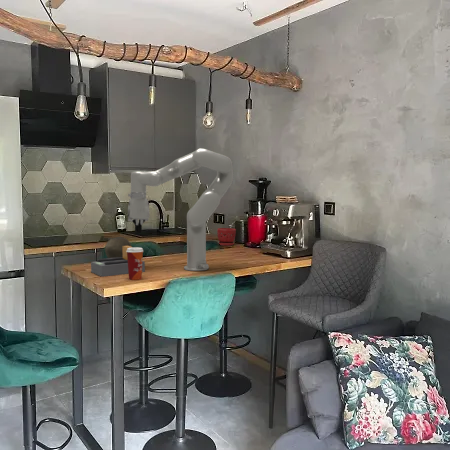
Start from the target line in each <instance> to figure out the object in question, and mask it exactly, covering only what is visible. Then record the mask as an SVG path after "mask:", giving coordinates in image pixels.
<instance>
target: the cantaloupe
mask: <svg viewBox="0 0 450 450" xmlns="http://www.w3.org/2000/svg"><path fill="white" fill-rule="evenodd" d="M123 246H131V247H133V246H132V244H131V242H130V241H129V239H128V238H125V237H123V236H117V237H112V238H110V239H108V241H107V242H106V245H105V247H104V252H105V255H106V258H116V257H123Z"/></svg>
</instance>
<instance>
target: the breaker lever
mask: <svg viewBox="0 0 450 450" xmlns="http://www.w3.org/2000/svg"><path fill="white" fill-rule="evenodd" d="M131 246H132V245H131ZM131 246H123V258H124V259H126V260H128V259H127V252H126V251H127V248H132V247H133V246H132V247H131Z"/></svg>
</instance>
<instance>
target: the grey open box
mask: <svg viewBox="0 0 450 450" xmlns="http://www.w3.org/2000/svg"><path fill="white" fill-rule="evenodd" d="M90 272H91V273H92V274H95V275H97V276H100V277H101V278H102V277H103V278H104V277H110V276H119V275H127V274H128V275H129V273H128V260H126V259H124V258H123V257H116V258H108V257H106V258H97V259H96V261H91V262H90ZM145 272H146V263H145V261H144V260H142V273H145Z"/></svg>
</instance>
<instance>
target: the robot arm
mask: <svg viewBox="0 0 450 450" xmlns="http://www.w3.org/2000/svg"><path fill="white" fill-rule="evenodd" d="M200 168H207V169H209V170H211V171H215V172H216V176H215V178H214V179H213V180H212V182H211V184H209V186H208V187H207V188H206V189H205V190H204V191H203V193H202V194H201V195H200V196H199V198H198V200H197V201H196V202H195V204H193V206H192V207H191V208H190V209H189V210H188V211H187V213H186V237H187V238H186V265H184V266H183V268H184V270H185V271H191V272H192V271H194V272H198V271H199V272H201V271H207V270H209V269H210V268H209V267H210V266H209V264H208V263H207V259H206V258H207V250H206V249H207V247H206V246H207V243H206V242H207V241H206V240H207V221H208V220H209V219H210V217H211V216H212V215H213V214H214V212H215V211H216V210H217V208H218V206H220V203H221V199H222V198H223V197H224V196H225V194H226V193H227V191H228V190H229V189H230V187H231V185H232V183H233V180H234V170H233V160H231V158H230V157H229V156H227V155H224V154H222V153H218V152H215V151H212V150H209V149H207V148H203V147H200V148H197V149H196V150H194V151H193V152H190V153H188V154H186V155H183V156H181V157H178V158H176V159H175V160H173V161H172V162H170V164H168V165H166V166H163V167H161V168H159V169H156V170H151V171H140V170H138V171H137V170H135V171H131V172H130V192H129V193H128V195H127V196H128V197H129V198H130V199H129V201H128V206H127V222H132V223H133V224H134V232H135V233H137V234H141V233H142V230H143V229H142V228H143V225H144V224H145V222H149V220H150V219H149V218H150V205H149V204H150V203H149V199H148V198H147V186H149V187H158V186H160V185H163V184H165V183H167V182H169V181H172V180H174V179H177V178H180V177H182V176H185V175H187V174H189V173H192V172H194V171H196V170H198V169H200Z"/></svg>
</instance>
